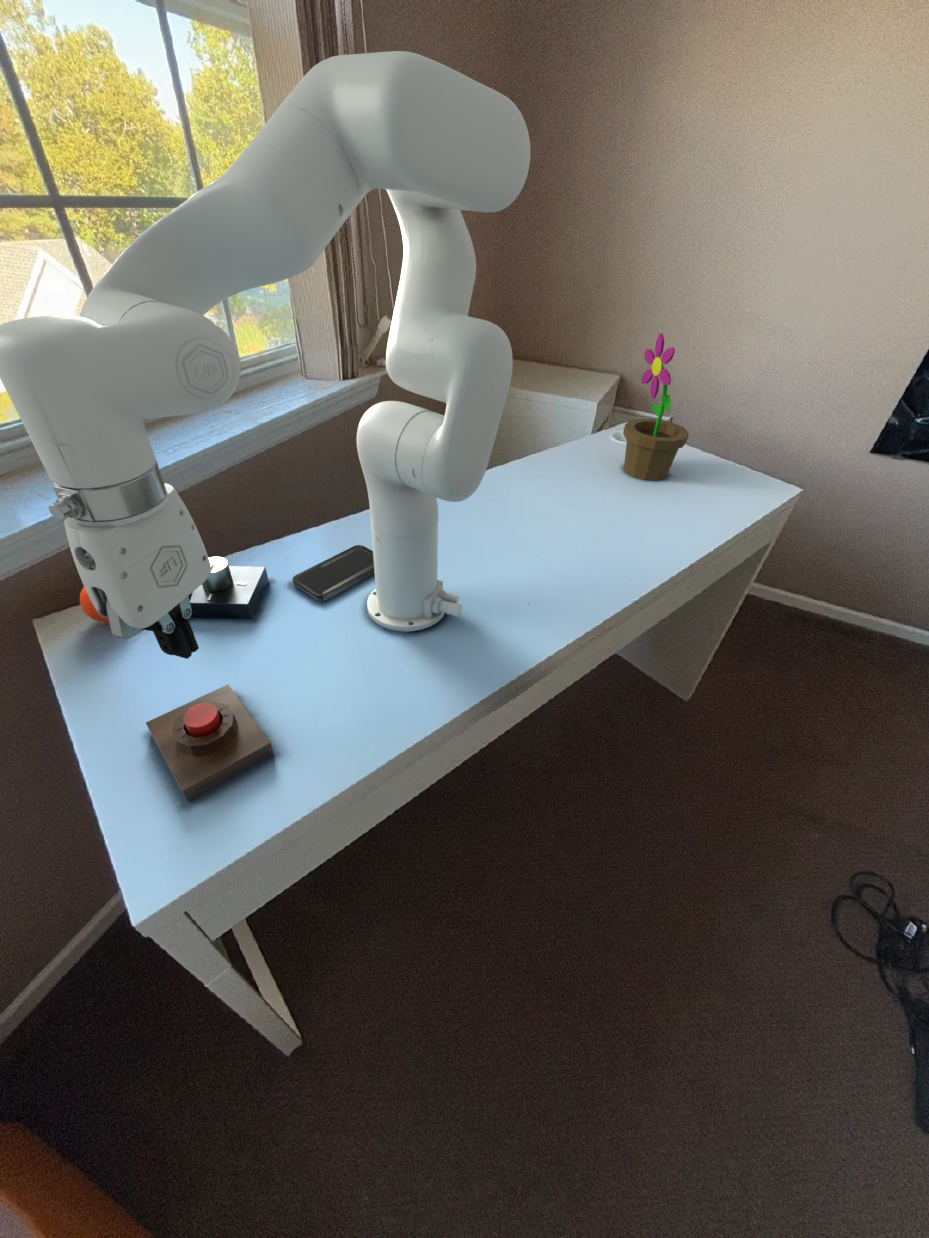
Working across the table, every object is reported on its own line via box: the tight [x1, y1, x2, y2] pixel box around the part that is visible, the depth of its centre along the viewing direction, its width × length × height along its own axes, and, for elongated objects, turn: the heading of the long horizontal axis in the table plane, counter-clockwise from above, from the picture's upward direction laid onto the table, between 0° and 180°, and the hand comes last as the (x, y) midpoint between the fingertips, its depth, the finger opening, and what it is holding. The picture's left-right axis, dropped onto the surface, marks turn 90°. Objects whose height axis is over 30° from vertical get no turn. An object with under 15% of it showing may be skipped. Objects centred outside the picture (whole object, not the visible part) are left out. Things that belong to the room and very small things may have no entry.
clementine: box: [79, 586, 110, 624], centre depth 80 cm, size 8×7×7 cm
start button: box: [183, 703, 221, 737], centre depth 62 cm, size 4×4×2 cm
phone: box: [292, 544, 375, 602], centre depth 93 cm, size 8×1×15 cm
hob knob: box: [202, 556, 233, 592], centre depth 84 cm, size 4×4×4 cm
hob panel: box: [188, 565, 270, 620], centre depth 86 cm, size 12×10×3 cm
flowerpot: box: [622, 332, 690, 481], centre depth 122 cm, size 14×14×30 cm
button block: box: [145, 684, 275, 803], centre depth 64 cm, size 12×10×4 cm
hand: (181, 650), depth 57 cm, fingers closed
